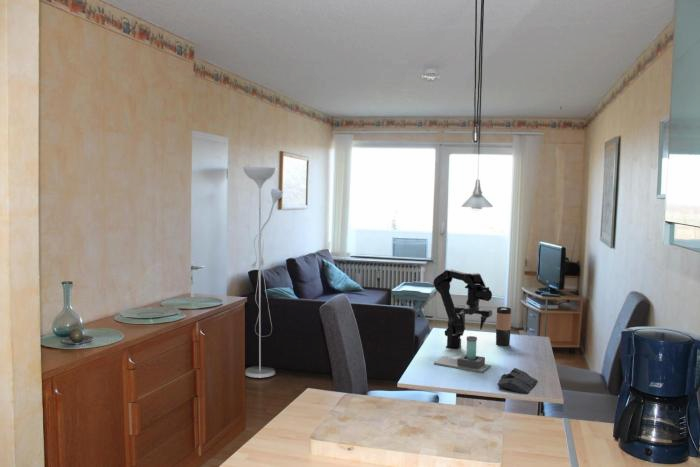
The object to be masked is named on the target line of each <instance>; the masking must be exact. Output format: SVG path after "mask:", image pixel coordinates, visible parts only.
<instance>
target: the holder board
mask: <svg viewBox="0 0 700 467" xmlns="http://www.w3.org/2000/svg"><path fill="white" fill-rule="evenodd" d="M433 364H434V365H437V366H441V367H442V366H443V367H447V366H448V367H449V368H454V369H459V370H465V371H470V372H476V373H481V374H483V373H484V372H486V371H487V370H489V369H490V368H491V367H492V365H491V364H487V363H486V358H485V356H478V355H476V360H470V359H467V353H465V354H464V353H463V354H462V355H461V356H460V357H458V358H452V357H445V356H442V357H441V358H439V359H437V360H436V361H434V362H433ZM448 367H447V368H448Z"/></svg>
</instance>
